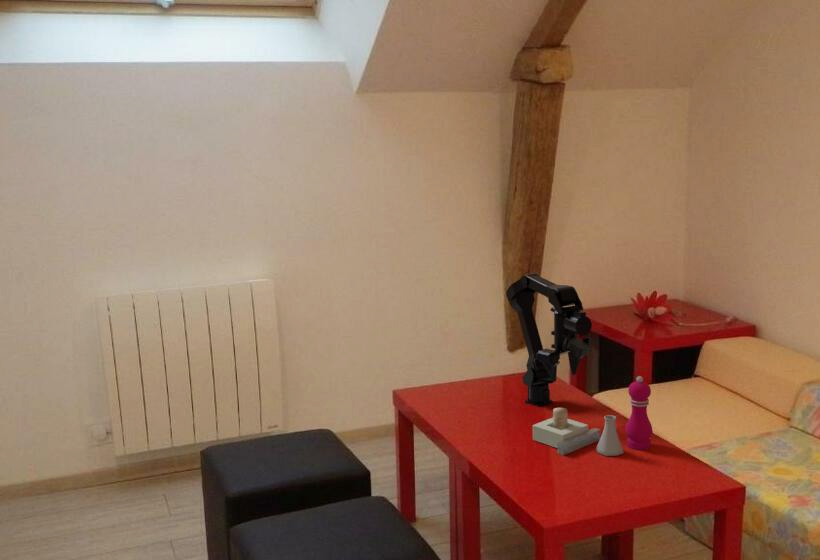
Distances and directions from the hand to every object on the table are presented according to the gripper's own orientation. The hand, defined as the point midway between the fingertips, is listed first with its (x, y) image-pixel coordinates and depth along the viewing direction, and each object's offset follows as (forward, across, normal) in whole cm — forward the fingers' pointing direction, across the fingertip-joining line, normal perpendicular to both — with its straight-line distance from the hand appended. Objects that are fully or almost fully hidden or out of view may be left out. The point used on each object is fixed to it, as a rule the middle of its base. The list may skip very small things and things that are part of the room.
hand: (564, 378), depth 269 cm
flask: (+12, -13, -27) cm, 32 cm away
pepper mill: (+12, -4, -30) cm, 33 cm away
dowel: (+12, -16, -12) cm, 23 cm away
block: (+12, -16, -12) cm, 23 cm away
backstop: (+12, -16, -19) cm, 27 cm away
